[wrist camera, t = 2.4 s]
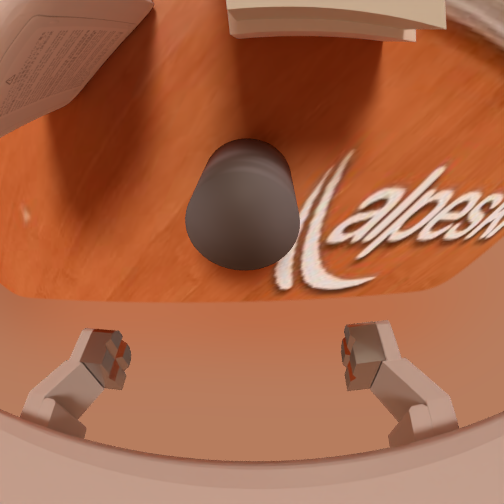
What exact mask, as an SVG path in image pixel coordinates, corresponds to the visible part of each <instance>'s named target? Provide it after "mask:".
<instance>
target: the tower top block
mask: <svg viewBox="0 0 504 504" xmlns="http://www.w3.org/2000/svg"><path fill="white" fill-rule="evenodd" d="M226 5H227V10H228V11H229V13H230V14H231V15H232V16H233V17H234V19H235V20H236V21H240V20H255V19H322V20H337V21H348V22H357V23H365V24H373V25H380V26H386V27H392V28H397V29H402V30H412V29H446V11H445V0H226Z"/></svg>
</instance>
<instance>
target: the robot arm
mask: <svg viewBox="0 0 504 504" xmlns="http://www.w3.org/2000/svg"><path fill="white" fill-rule="evenodd" d="M344 333H345V338H344V339H343V340H342V345H341V349H342V350H341V354H342V362H343V365H344V366H345V367H346V368H347V369H346V372H345V379H346V385H347V390H348V391H351V390H361V389H369V388H371V391H372V392H373V393H374V394H375V395H376V397H377V398H378V399H379V400H380V401H381V402H382V403H383V405H384V406H385V407H386V408H387V409H388V410H389V412H390V413H391V414H392V415H393V416H394V417H395V418H396V419H397V421H398V422H399V423H398V424H397V426H396V427H395V428H394V429H393V430H392V432H391V433H390V434H389V435H388V438H389V444H390V448H385V449H380V450H375V451H369V452H363V453H357V454H350V455H343V456H335V457H326V458H317V459H306V460H290V461H220V460H204V459H193V458H183V457H174V456H166V455H159V454H153V453H146V452H140V451H135V450H129V449H124V448H120V447H115V446H110V445H106V444H102V443H98V442H93V441H90V440H86V439H84V437H85V432H86V427H85V426H84V425H83V424H82V423H81V422H79V421H78V419H79V417H80V416H81V415H82V414H83V413H84V412H85V411H86V410H87V408H88V407H89V406H90V405H91V404H92V403H93V401H94V400H95V399H96V398H97V397H98V396H99V394H100V393H101V392H102V391H103V390H104V388H108V389H118V390H122V388H123V385H124V381H125V378H126V374H125V372H124V371H125V369H126V368H128V367H129V365H130V361H131V351H130V348H129V346H128V344H127V343H126V342H124V341H123V340H122V334H121V333H120V332H119V331H115V330H103V329H91V328H85V329H84V330H83V331H82V332H81V334H80V337H79V339H78V341H77V343H76V345H75V348H74V350H73V352H72V355H71V357H70V359H69V361H67V360H66V361H65V362H64V363H63V364H61V365H60V366H59V367H58V368H57V369H55V370H54V371H53V372H52V373H51V374H50V375H48V376H47V377H46V378H45V379H44V380H43V381H42V382H40V383H39V384H38V385H37V386H36V387H35V388H33V389H32V390H31V391H30V393H29V395H28V397H27V400H26V403H25V405H24V408H23V410H22V413H21V416H20V417H18V416H15V415H12V414H10V413H8V412H6V411H3V410H1V409H0V504H504V411H503V412H501V413H499V414H496V415H494V416H492V417H489V418H487V419H484V420H481V421H479V422H476V423H473V424H471V425H468V426H465V427H462V428H459V426H458V423H457V419H456V415H455V412H454V409H453V405H452V402H451V399H450V396H449V395H448V394H447V393H445V392H444V391H443V390H442V389H441V388H440V387H439V386H438V385H436V384H435V383H434V382H433V381H432V380H431V379H429V378H428V377H427V376H426V375H425V374H424V373H423V372H421V371H420V370H419V369H418V368H417V367H415V366H414V365H413V364H412V363H411V362H410V361H409V360H407V359H406V358H401V355H400V352H399V349H398V346H397V343H396V340H395V337H394V334H393V331H392V328H391V325H390V322H389V321H388V320H385V321H377V322H366V323H357V324H349V325H346V326H345V330H344Z"/></svg>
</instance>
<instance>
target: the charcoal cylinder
mask: <svg viewBox="0 0 504 504" xmlns="http://www.w3.org/2000/svg"><path fill="white" fill-rule="evenodd" d="M185 223H186V230H187V233H188V236H189V238H190V240H191V242H192V244H193V245H194V247H195V248H196V249H197V250H198V251H199V252H200V253H201V254H202V255H203V256H204V257H205V258H207V259H208V260H210V261H211V262H213V263H215V264H217V265H220V266H222V267H225V268H229V269H234V270H255V269H260V268H264V267H267V266H269V265H271V264H274V263H275V262H277V261H279V260H280V259H281V258H283V257H284V256H285V255H286V254H287V253H288V252H289V251H290V250H291V248H292V247H293V245H294V243H295V242H296V239H297V237H298V233H299V229H300V219H299V212H298V207H297V202H296V197H295V192H294V187H293V182H292V177H291V172H290V168H289V165H288V163H287V161H286V159H285V158H284V156H283V155H282V154H281V153H280V152H279V151H278V150H277V149H276V148H274V147H273V146H272V145H270V144H268V143H266V142H263V141H260V140H256V139H238V140H234V141H231V142H228V143H226V144H224V145H223V146H221V147H220V148H218V149H217V150H216V151H215V152H214V153H213V154H212V156H211V157H210V158H209V160H208V162H207V164H206V167H205V169H204V171H203V173H202V175H201V177H200V179H199V182H198V184H197V186H196V188H195V190H194V193H193V195H192V197H191V199H190V202H189V204H188V207H187V210H186V217H185Z"/></svg>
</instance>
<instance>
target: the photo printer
mask: <svg viewBox="0 0 504 504" xmlns="http://www.w3.org/2000/svg"><path fill="white" fill-rule="evenodd" d="M153 6H154V3H153V2H152V0H0V138H1V137H3V136H4V135H6V134H8V133H10V132H12V131H13V130H15V129H17V128H19V127H21V126H23V125H25V124H27V123H29V122H31V121H33V120H35V119H37V118H39V117H41V116H43V115H46V114H48V113H50V112H53V111H55V110H57V109H60V108H62V107H64V106H66V105H67V104H68V103H70V102H71V101H72V100H73V99H74V98H75V97H76V96H77V95H78V94H79V93H80V91H81V90H82V89H83V88H84V87H85V85H86V84H87V83H88V82H89V80H90V79H91V78H92V77H93V75H94V74H95V73H96V72H97V71H98V69H99V68H100V67H101V66H102V65H103V63H104V62H105V61H106V60H107V59H108V58H109V56H110V55H111V54H112V53H113V52H114V51H115V50H116V48H117V47H118V46H119V45H120V44H121V43H122V42H123V41H124V40H125V38H126V37H127V36H128V35H129V34H130V33H131V32H132V31H133V30H134V29H135V28H136V27H137V25H138V24H139V23H140V22H141V21H142V20H143V19H144V18H145V17H146V15H147V14H148V13H149V12H150V10H151V9H152V8H153Z"/></svg>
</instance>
